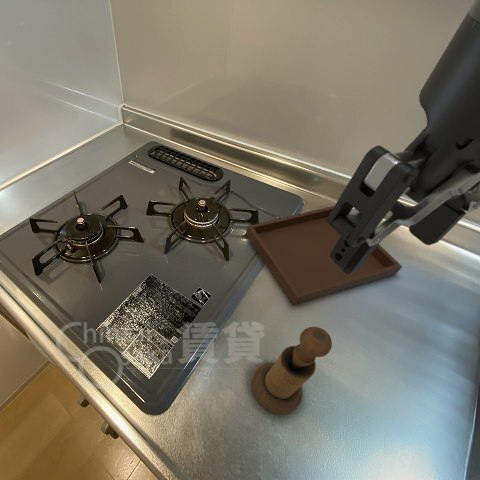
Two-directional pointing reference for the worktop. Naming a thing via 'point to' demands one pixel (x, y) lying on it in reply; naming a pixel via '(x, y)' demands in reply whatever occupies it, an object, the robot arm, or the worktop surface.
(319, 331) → the mortar and pestle
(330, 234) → the tray
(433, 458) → the worktop surface
